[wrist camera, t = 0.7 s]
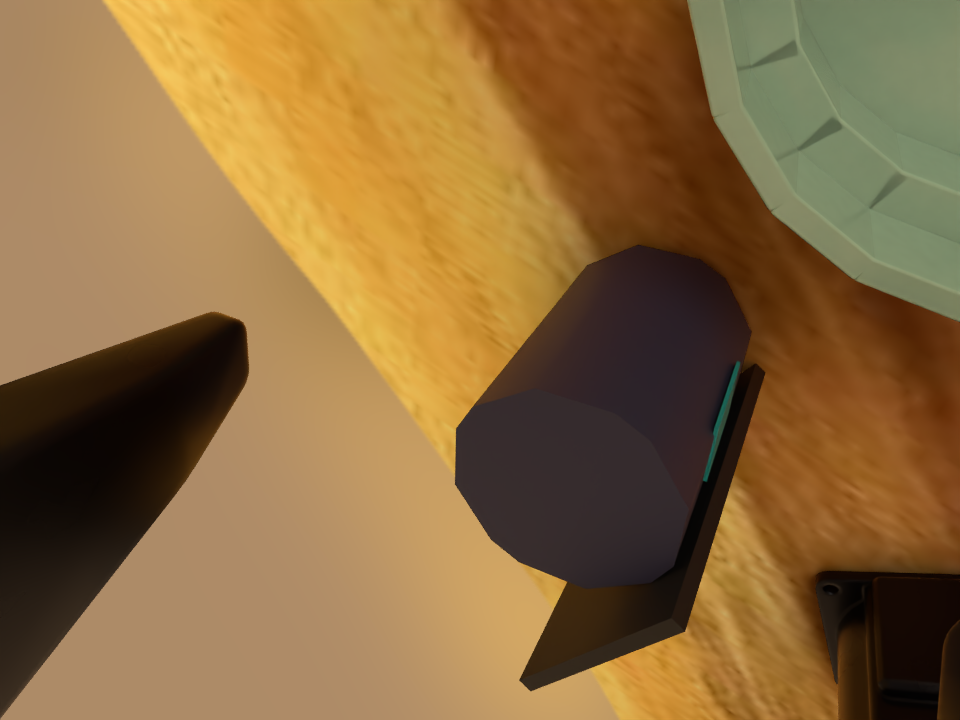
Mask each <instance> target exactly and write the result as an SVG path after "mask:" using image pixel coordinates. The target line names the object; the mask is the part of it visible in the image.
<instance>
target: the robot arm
mask: <svg viewBox="0 0 960 720" xmlns="http://www.w3.org/2000/svg"><path fill="white" fill-rule="evenodd" d="M247 345H248V344H247V331H246V327H245V325H244V323H243V322H242V321H240V320H238V319H236V318H233V317H230V316H227V315H224V314H222V313H219V312H210V313H206V314H203V315H200V316H197V317H194V318H192V319H189V320H186V321H183V322H181V323H177V324H174V325H172V326H169V327H166V328H163V329H160V330H158V331H154V332H152V333H149V334H146V335H143V336H140V337H137V338H135V339H132V340H129V341H126V342H123V343H120V344H118V345H115V346H112V347H109V348H106V349H103V350H100V351H97V352H95V353H92V354H89V355H86V356H83V357H81V358H77V359H75V360H72V361H69V362H66V363H63V364H60V365H57V366H55V367H52V368H49V369H46V370H43V371H41V372H38V373H35V374H32V375H29V376H26V377H23V378H20V379H18V380H15V381H12V382H9V383H7V384H3V385H1V386H0V718H1V717H2V716H3V715H4V713H5V712H6V711H7V709H8V708H9V707H10V706H11V704H12V703H13V702H14V700H15V699H16V698H17V697H18V695H19V694H20V693H21V691H22V690H23V689H24V688H25V686H26V685H27V684H28V683H29V681H30V680H31V679H32V678H33V676H34V675H35V674H36V672H37V671H38V670H39V669H40V667H41V666H42V665H43V663H44V662H45V661H46V660H47V658H48V657H49V656H50V654H51V653H52V652H53V651H54V649H55V648H56V647H57V646H58V644H59V643H60V642H61V640H62V639H63V638H64V637H65V635H66V634H67V632H68V631H69V630H70V629H71V628H72V626H73V625H74V624H75V622H76V621H77V620H78V619H79V617H80V616H81V615H82V614H83V612H84V611H85V610H86V608H87V607H88V606H89V605H90V603H91V602H92V601H93V600H94V598H95V597H96V596H97V594H98V593H99V592H100V591H101V589H102V588H103V587H104V585H105V584H106V583H107V582H108V580H109V579H110V578H111V576H112V575H113V574H114V573H115V571H116V570H117V569H118V568H119V566H120V565H121V564H122V562H123V561H124V560H125V559H126V557H127V556H128V555H129V553H130V552H131V551H132V550H133V548H134V547H135V546H136V545H137V543H138V542H139V541H140V539H141V538H142V537H143V536H144V534H145V533H146V532H147V530H148V529H149V528H150V527H151V525H152V524H153V523H154V522H155V520H156V519H157V518H158V516H159V515H160V514H161V513H162V511H163V510H164V509H165V507H166V506H167V505H168V504H169V502H170V501H171V500H172V498H173V497H174V496H175V494H176V493H177V492H178V491H179V489H180V488H181V486H182V485H183V484H184V482H185V481H186V480H187V478H188V477H189V475H190V473H191V472H192V470H193V469H194V467H195V466H196V464H197V463H198V461H199V459H200V458H201V456H202V455H203V453H204V451H205V450H206V448H207V446H208V445H209V443H210V441H211V440H212V438H213V437H214V435H215V433H216V432H217V430H218V428H219V427H220V425H221V424H222V422H223V420H224V419H225V417H226V415H227V414H228V412H229V410H230V409H231V407H232V406H233V404H234V402H235V401H236V399H237V398H238V396H239V394H240V393H241V391H242V389H243V388H244V386H245V383H246V381H247V377H248V373H249V360H248V346H247ZM816 594H817V598H818V603H819V608H820V612H821V617H822V622H823V627H824V631H825V636H826V641H827V646H828V650H829V655H830V660H831V664H832V669H833V674H834V679H835V682H836V684H838V718H839V720H960V575H956V574H919V573H881V572H844V571H825V572H821V573H819V574H818V575H817V576H816Z"/></svg>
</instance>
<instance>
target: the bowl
mask: <svg viewBox="0 0 960 720" xmlns="http://www.w3.org/2000/svg"><path fill="white" fill-rule="evenodd" d="M687 4H688V9H689V13H690V18H691V23H692V27H693V32H694V37H695V41H696V46H697V51H698V55H699V60H700V65H701V69H702V74H703V79H704V83H705V88H706V93H707V97H708V102H709V107H710V111H711V115H712V116H713V117H714V122H715V124H716V125H717V127H718V129H719V130H720V132H721V134H722V135H723V137H724V138H725V140H726V142H727V143H728V145H729V147H730V148H731V150H732V151H733V153H734V155H735V156H736V158H737V160H738V161H739V163H740V165H741V166H742V168H743V169H744V171H745V173H746V174H747V176H748V178H749V179H750V181H751V182H752V184H753V186H754V187H755V189H756V191H757V192H758V194H759V195H760V197H761V199H762V200H763V202H764V204H765V205H766V207H767V209H769V210H770V211H771V213H772V214H773V215H774V216H775V217H776V218H777V219H779V220H780V221H781V222H782V223H784V224H785V225H786V226H787V227H789V228H790V229H791V230H792V231H794V232H795V233H796V234H797V235H798V236H800V237H801V238H802V239H803V240H805V241H806V242H807V243H808V244H810V245H811V246H812V247H813V248H815V249H816V250H817V251H818V252H819V253H821V254H822V255H823V256H824V257H826V258H827V259H828V260H829V261H831V262H832V263H833V264H834V265H836V266H837V267H838V268H839V269H840V270H842V271H843V272H844V273H845V274H847V275H848V276H849V277H850V278H852V279H855V281H857V282H859V283H862V284H864V285H867V286H869V287H872V288H875V289H877V290H880V291H882V292H885V293H887V294H890V295H892V296H895V297H897V298H900V299H902V300H905V301H907V302H910V303H912V304H915V305H917V306H920V307H923V308H925V309H928V310H930V311H933V312H935V313H938V314H940V315H943V316H945V317H948V318H950V319H953V320H955V321H958V322H960V0H687Z"/></svg>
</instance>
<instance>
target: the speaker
mask: <svg viewBox="0 0 960 720" xmlns="http://www.w3.org/2000/svg"><path fill="white" fill-rule="evenodd" d="M751 332H752V331H751V329H750V327H749V325H748V323H747V321H746V319H745V317H744V315H743V313H742V311H741V309H740V307H739V305H738V303H737V301H736V299H735V297H734V295H733V293H732V291H731V289H730V287H729V285H728V283H727V281H726V279H725V278H724V277H723V276H721V275H720V274H719V273H717V272H716V271H715V270H713V269H712V268H711V267H710V266H708V265H707V264H706V263H704V262H703V261H702V260H700V259H697V258H693V257H689V256H684V255H680V254H676V253H671V252H667V251H663V250H659V249H654V248H650V247H646V246H641V245H637V246H634V247H632V248H629V249H627V250H624V251H622V252H619V253H617V254H614V255H612V256H609V257H607V258H604V259H602V260H599V261H597V262H594V263H592V264H589V265H587V266H586V268H585V269H584V270H583V271H582V273H581V274H580V275H579V276H578V277H577V279H576V280H575V281H574V282H573V284H572V285H571V286H570V287H569V289H568V290H567V291H566V292H565V294H564V295H563V296H562V297H561V298H560V300H559V301H558V302H557V303H556V305H555V306H554V307H553V308H552V310H551V311H550V312H549V313H548V315H547V316H546V317H545V318H544V319H543V321H542V322H541V323H540V324H539V326H538V327H537V328H536V329H535V331H534V332H533V333H532V334H531V336H530V337H529V338H528V339H527V340H526V342H525V343H524V344H523V345H522V347H521V348H520V349H519V350H518V352H517V353H516V354H515V355H514V357H513V358H512V359H511V360H510V361H509V363H508V364H507V365H506V366H505V368H504V369H503V370H502V371H501V373H500V374H499V375H498V376H497V377H496V379H495V380H494V381H493V382H492V384H491V385H490V386H489V387H488V389H487V390H486V391H485V392H484V394H483V395H482V396H481V397H480V398H479V400H478V401H477V402H476V403H475V405H474V406H473V407H472V408H471V410H470V411H469V412H468V414H467V415H466V416H465V418H464V419H463V420H462V422H461V423H460V424H459V426H458V427H457V428H456V463H455V485H456V486H457V488H458V489H459V491H460V492H461V494H462V496H463V497H464V499H465V500H466V502H467V503H468V505H469V506H470V508H471V509H472V511H473V513H474V514H475V516H476V517H477V519H478V520H479V522H480V523H481V525H482V526H483V528H484V530H485V531H486V532H487V534H488V536H489V537H490V539H491V540H492V541H493V542H495V543H496V544H497V545H499V546H500V547H501V548H502V549H503V550H505V551H506V552H507V553H508V554H510V555H511V556H512V557H513V558H515V559H516V560H517V561H518V562H520V563H523V564H525V565H528V566H530V567H532V568H535V569H537V570H540V571H542V572H545V573H547V574H550V575H552V576H555V577H557V578H560V579H562V580H565V581H567V584H566V586H565V588H564V590H563V592H562V594H561V596H560V598H559V600H558V602H557V604H556V606H555V608H554V610H553V612H552V615H551V617H550V619H549V621H548V623H547V625H546V627H545V629H544V631H543V633H542V635H541V637H540V639H539V641H538V643H537V645H536V647H535V649H534V651H533V653H532V656H531V657H530V659H529V661H528V664H527V665H526V668H525V670H524V672H523V674H522V676H521V678H520V681H521V682H522V683H523V684H524V685H525V686H526V687H527V688H528V689H529V690H530V691H532V690H535V689H538V688H540V687H542V686H545V685H548V684H550V683H553V682H556V681H558V680H561V679H564V678H566V677H569V676H571V675H574V674H576V673H579V672H582V671H584V670H587V669H589V668H592V667H595V666H597V665H600V664H602V663H605V662H608V661H610V660H613V659H615V658H618V657H620V656H623V655H626V654H628V653H631V652H633V651H636V650H639V649H641V648H644V647H646V646H649V645H651V644H654V643H657V642H659V641H662V640H664V639H667V638H670V637H672V636H675V635H677V634H680V633H682V632H685V630H686V627H687V623H688V620H689V617H690V614H691V611H692V607H693V604H694V601H695V598H696V594H697V591H698V588H699V585H700V582H701V578H702V575H703V572H704V569H705V565H706V562H707V559H708V556H709V553H710V549H711V546H712V543H713V540H714V536H715V533H716V530H717V527H718V524H719V520H720V517H721V514H722V511H723V507H724V504H725V501H726V498H727V495H728V491H729V488H730V485H731V482H732V478H733V475H734V472H735V469H736V465H737V462H738V459H739V456H740V453H741V449H742V446H743V443H744V440H745V436H746V433H747V430H748V427H749V424H750V420H751V417H752V414H753V411H754V407H755V404H756V401H757V398H758V395H759V391H760V388H761V385H762V382H763V378H764V375H765V372H764V371H763V370H762V369H761V368H760V367H759V366H758V365H757V364H755V365H753V366H752V367H750V368H748V369H747V370H745V371H744V372H742V373H741V374H740V372H741V369H742V365H743V361H744V358H745V354H746V351H747V347H748V343H749V340H750V336H751Z"/></svg>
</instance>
